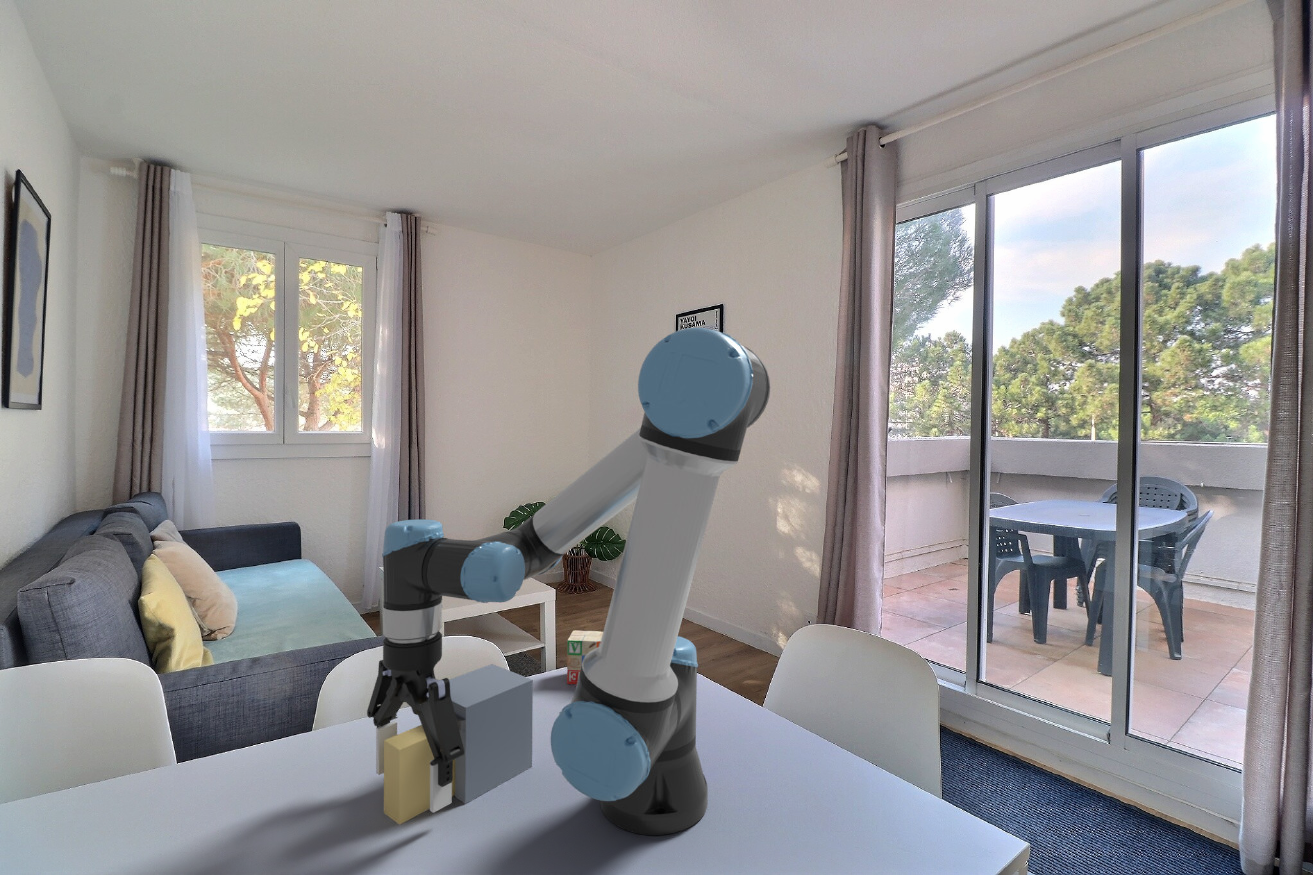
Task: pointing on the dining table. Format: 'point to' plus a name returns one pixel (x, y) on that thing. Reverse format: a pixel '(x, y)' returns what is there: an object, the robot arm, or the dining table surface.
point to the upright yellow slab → (408, 775)
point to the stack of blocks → (580, 651)
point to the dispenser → (491, 728)
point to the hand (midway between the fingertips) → (412, 787)
